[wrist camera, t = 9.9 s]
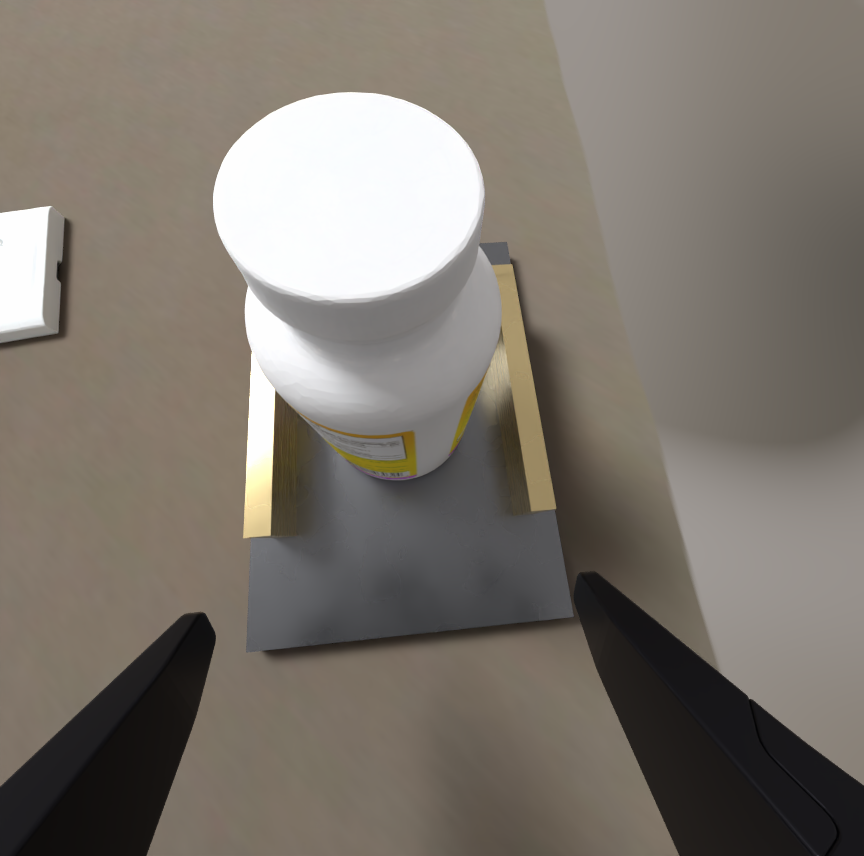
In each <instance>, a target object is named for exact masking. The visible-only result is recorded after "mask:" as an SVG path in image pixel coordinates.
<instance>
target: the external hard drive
mask: <svg viewBox="0 0 864 856" xmlns="http://www.w3.org/2000/svg"><path fill="white" fill-rule="evenodd" d="M64 219H65V218H64V217H63V216H62V215H61V214H60V213H59V212H58V211H57V210H56V209H55V208H53V207H52V206H48V207H41V208H34V209H29V210H21V211H13V212H6V213H0V343H4V342H10V341H16V340H22V339H27V338H33V337H39V336H45V335H51V334H57V333H58V332H59V311H60V292H61V282H59V281H58V274H59V272H58V271H59V270H58V266H59V264H60V263H61V262H62V255H63V237H64Z"/></svg>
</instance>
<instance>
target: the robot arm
mask: <svg viewBox="0 0 864 856" xmlns="http://www.w3.org/2000/svg"><path fill="white" fill-rule="evenodd" d="M574 603H575V606H576V609H577V612H578V615H579V618H580V621H581V624H582V627H583V630H584V633H585V636H586V639H587V642H588V645H589V648H590V651H591V654H592V657H593V660H594V663H595V666H596V669H597V671H598V673H599V676H600V678H601V680H602V683H603V685H604V687H605V689H606V692H607V694H608V696H609V698H610V701H611V703H612V705H613V707H614V710H615V712H616V714H617V716H618V719H619V721H620V723H621V725H622V728H623V730H624V732H625V734H626V737H627V739H628V741H629V743H630V746H631V748H632V750H633V752H634V755H635V757H636V759H637V761H638V764H639V766H640V768H641V770H642V773H643V775H644V777H645V779H646V782H647V784H648V786H649V788H650V791H651V793H652V795H653V797H654V800H655V802H656V804H657V806H658V809H659V811H660V813H661V815H662V818H663V820H664V822H665V824H666V827H667V829H668V831H669V833H670V836H671V838H672V840H673V842H674V845H675V847H676V849H677V851H678V854H679V856H864V785H862V784H861V783H860V782H858V781H857V780H856V779H854V778H853V777H851V776H850V775H849V774H847V773H846V772H844V771H843V770H842V769H841V768H839V767H838V766H836V765H835V764H834V763H832V762H831V761H830V760H829V759H827V758H826V757H825V756H823V755H822V754H821V753H819V752H818V751H817V750H815V749H814V748H812V747H811V746H810V745H808V744H807V743H806V742H805V741H803V740H802V739H801V738H800V737H798V736H797V735H796V734H794V733H793V732H792V731H791V730H789V729H788V728H787V727H786V726H784V725H783V724H782V723H781V722H779V721H778V720H777V719H775V718H774V717H773V716H772V715H771V714H769V713H768V712H767V711H765V710H764V709H763V708H762V707H761V706H760V705H758V704H757V703H756V702H755V701H754V700H752V699H749V698H748V696H747V695H746V694H745V693H743V692H742V691H741V690H740V689H739V688H737V687H736V686H735V685H734V684H733V683H731V682H730V681H729V680H728V679H726V678H725V677H724V676H723V675H722V674H720V673H719V672H718V671H717V670H716V669H714V668H713V667H712V666H711V665H709V664H708V663H707V662H706V661H705V660H703V659H702V658H701V657H700V656H698V655H697V654H696V653H695V652H694V651H692V650H691V649H690V648H689V647H687V646H686V645H685V644H684V643H683V642H681V641H680V640H679V639H678V638H676V637H675V636H674V635H673V634H672V633H670V632H669V631H668V630H667V629H665V628H664V627H663V626H662V625H661V624H659V623H658V622H657V621H656V620H654V619H653V618H652V617H651V616H650V615H648V614H647V613H646V612H645V611H644V610H642V609H641V608H640V607H639V606H637V605H636V604H635V603H634V602H633V601H631V600H630V599H629V598H628V597H626V596H625V595H624V594H623V593H622V592H620V591H619V590H618V589H617V588H615V587H614V586H613V585H612V584H611V583H609V582H608V581H607V580H606V579H604V578H603V577H602V576H601V575H600V574H598V573H597V572H594V571H590V572H581V573H579V574H578V576H577V580H576V585H575V590H574ZM215 641H216V635H215V631H214V629H213V627H212V625H211V623H210V622H209V620H208V618H207V616H206V614H205V613H203V612H195V613H187V614H184V615H183V616H181V617H180V618H179V619H178V620H177V621H176V622H175V623H174V624H173V625H171V626H170V627H169V628H168V629H167V630H166V631H165V632H164V633H163V634H162V635H161V636H160V637H159V638H158V639H157V640H156V641H154V642H153V643H152V644H151V645H150V646H149V647H148V648H147V649H146V650H145V651H144V652H143V653H142V654H141V655H140V656H139V657H137V658H136V659H135V660H134V661H133V662H132V663H131V664H130V665H129V666H128V667H127V668H126V669H125V670H124V671H123V672H122V673H120V674H119V675H118V676H117V677H116V678H115V679H114V680H113V681H112V682H111V683H110V684H109V685H108V686H107V687H106V688H105V689H103V690H102V691H101V692H100V693H99V694H98V695H97V696H96V697H95V698H94V699H93V700H92V701H91V702H90V703H89V704H88V705H86V706H85V707H84V708H83V709H82V710H81V711H80V712H79V713H78V714H77V715H76V716H75V717H74V718H73V719H72V720H71V721H69V722H68V723H67V724H66V725H65V726H64V727H63V728H62V729H61V730H60V731H59V732H58V733H57V734H56V735H55V736H54V737H52V738H51V739H50V740H49V741H48V742H47V743H46V744H45V745H44V746H43V747H42V748H41V749H40V750H39V751H38V752H37V753H35V754H34V755H33V756H32V757H31V758H30V759H29V760H28V761H27V762H26V763H25V764H24V765H23V766H22V767H21V768H20V769H18V770H17V771H16V772H15V773H14V774H13V775H12V776H11V777H10V778H9V779H8V780H7V781H6V782H5V783H4V784H3V785H1V786H0V856H146V855H147V853H148V850H149V847H150V844H151V842H152V839H153V836H154V833H155V830H156V828H157V825H158V822H159V819H160V816H161V814H162V811H163V808H164V805H165V802H166V800H167V797H168V794H169V791H170V789H171V786H172V783H173V780H174V777H175V775H176V772H177V769H178V766H179V763H180V761H181V758H182V755H183V752H184V749H185V747H186V744H187V741H188V738H189V736H190V733H191V730H192V727H193V724H194V721H195V718H196V715H197V711H198V708H199V704H200V701H201V697H202V693H203V689H204V685H205V681H206V677H207V673H208V670H209V666H210V662H211V658H212V654H213V650H214V646H215Z"/></svg>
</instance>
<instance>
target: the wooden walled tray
mask: <svg viewBox="0 0 864 856" xmlns="http://www.w3.org/2000/svg"><path fill="white" fill-rule="evenodd" d="M479 246H480V248H481V249H482V250H483V252H484V253H485V255H486V256H487V258H488V260H489V262H490V263H491V265H492V268H493V270H494V273H495V275H496V278H497V282H498V286H499V290H500V296H501V306H502V318H501V328H500V334H499V339H498V343H497V346H496V349H495V352H494V355H493V358H492V361H491V363H490V366H489V368H488V371H487V373H486V376H485V378H484V381H483V383H482V386H481V389H480V391H479V394H478V397H477V399H476V402H475V404H474V407H473V410H472V412H471V415H470V417H469V420H468V423H467V425H466V429H465V431H464V433H463V436H462V438H461V440H460V442H459V444H458V445H457V447H456V449H455V450H454V452H453V453H452V454H451V456H450V457H449V458H448V459H447V460H446V461H445V462H444V463H443V464H441V465H440V466H439V467H437V468H436V469H435V470H433V471H431V472H429V473H427V474H425V475H423V476H420V477H417V478H413V479H407V480H385V479H380V478H376V477H373V476H370V475H368V474H366V473H364V472H362V471H360V470H358V469H357V468H355V467H354V466H352V465H351V464H350V463H349V462H347V461H346V460H345V459H344V458H343V457H342V456H341V455H340V454H339V453H338V452H337V451H336V450H335V449H334V448H333V447H332V446H331V445H330V444H328V443H327V442H326V440H325V439H324V438H323V437H322V436H321V435H320V434H319V433H318V432H317V431H316V430H315V429H314V428H313V427H312V426H311V425H310V424H309V423H308V422H306V421H305V420H304V419H303V418H302V417H301V416H300V415H299V414H298V413H297V412H296V411H295V410H294V409H293V408H292V407H291V406H290V405H289V404H288V403H287V402H286V401H285V400H284V399H283V398H282V397H281V396H280V394H279V393H278V392H277V391H276V390H275V389H274V388H273V387H272V385H271V384H270V383H269V381H268V380H267V379H266V377H265V376H264V374H263V372H262V371H261V369H260V367H259V366H258V364H257V361H256V359H255V357H254V355H253V352H252V367H251V388H250V409H249V430H248V451H247V472H246V493H245V514H244V535H243V538H251V551H250V575H249V598H248V622H247V646H246V652H255V651H264V650H273V649H283V648H292V647H301V646H310V645H319V644H329V643H338V642H347V641H356V640H365V639H375V638H384V637H393V636H402V635H412V634H421V633H430V632H439V631H448V630H458V629H467V628H476V627H485V626H494V625H504V624H513V623H522V622H531V621H541V620H550V619H559V618H568V617H574V614H573V609H572V603H571V598H570V592H569V586H568V581H567V575H566V570H565V564H564V558H563V553H562V547H561V542H560V536H559V531H558V525H557V519H556V514H555V509H556V503H555V498H554V492H553V487H552V481H551V476H550V470H549V465H548V459H547V454H546V448H545V442H544V437H543V431H542V426H541V420H540V415H539V409H538V404H537V398H536V393H535V387H534V381H533V376H532V370H531V365H530V359H529V354H528V348H527V343H526V337H525V332H524V326H523V321H522V315H521V309H520V304H519V298H518V293H517V287H516V282H515V276H514V271H513V265H512V264H511V263H510V257H509V251H508V246H507V242H499V243H480V244H479Z"/></svg>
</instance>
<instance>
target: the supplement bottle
mask: <svg viewBox="0 0 864 856" xmlns="http://www.w3.org/2000/svg"><path fill="white" fill-rule="evenodd" d="M484 207H485V189H484V181H483V177H482V174H481V170H480V167H479V164H478V162H477V160H476V158H475V156H474V154H473V152H472V150H471V149H470V147H469V146H468V144H467V143H466V142H465V141H464V139H463V138H462V137H461V136H460V135H459V134H458V133H457V132H456V131H455V130H454V129H453V128H452V127H451V126H450V125H448V124H447V123H446V122H444V121H443V120H442V119H440V118H439V117H437V116H436V115H434V114H432V113H431V112H429V111H427V110H426V109H424V108H422V107H419V106H417V105H415V104H412V103H410V102H407V101H405V100H401V99H397V98H394V97H390V96H386V95H380V94H375V93H354V92H349V93H334V94H326V95H318V96H314V97H311V98H307V99H303V100H300V101H297V102H295V103H292V104H290V105H287V106H285V107H283V108H281V109H278V110H276V111H274V112H273V113H271V114H269V115H268V116H266V117H265V118H263V119H262V120H260V121H259V122H257V123H256V124H255V125H254V126H253V127H251V128H250V129H249V130H248V131H246V132H245V133H244V134H243V135H242V136H241V138H240V139H239V140H238V141H237V142H236V143H235V144H234V145H233V146H232V148H231V149H230V151H229V152H228V154H227V155H226V157H225V159H224V161H223V163H222V165H221V168H220V170H219V173H218V175H217V179H216V183H215V188H214V194H213V209H214V216H215V222H216V225H217V229H218V233H219V235H220V238H221V240H222V242H223V244H224V246H225V248H226V250H227V251H228V253H229V254H230V256H231V258H232V259H233V261H234V262H235V264H236V265H237V267H238V268H239V270H240V271H241V273H242V275H243V276H244V279H245V281H246V282H247V284H248V290H247V295H246V303H245V323H246V331H247V337H248V341H249V344H250V347H251V350H252V352H253V355H254V357H255V359H256V361H257V364H258V366H259V367H260V369H261V371H262V372H263V374H264V376H265V377H266V379H267V380H268V381H269V383H270V384H271V385H272V387H273V388H274V389H275V390H276V391H277V392H278V393H279V394H280V396H281V397H282V398H283V399H284V400H285V401H286V402H287V403H288V404H289V405H290V406H291V407H292V408H293V409H294V410H295V411H296V412H297V413H298V414H299V415H300V416H301V417H302V418H303V419H304V420H305V421H306V422H308V423H309V424H310V425H311V426H312V427H313V428H314V429H315V430H316V431H317V432H318V433H319V434H320V435H321V436H322V437H323V438H324V439H325V440H326V442H327V443H328V444H330V445H331V446H332V447H333V448H334V449H335V450H336V451H337V452H338V453H339V454H340V455H341V456H342V457H343V458H344V459H345V460H346V461H347V462H349V463H350V464H351V465H352V466H354V467H355V468H357V469H358V470H360V471H362V472H364V473H366V474H368V475H370V476H373V477H376V478H380V479H385V480H407V479H413V478H417V477H420V476H423V475H425V474H427V473H429V472H431V471H433V470H435V469H436V468H437V467H439V466H440V465H441V464H443V463H444V462H445V461H446V460H447V459H448V458H449V457H450V456H451V454H452V453H453V452H454V450H455V449H456V447H457V445H458V444H459V442H460V440H461V438H462V436H463V433H464V431H465V429H466V425H467V423H468V420H469V417H470V415H471V412H472V410H473V407H474V404H475V402H476V399H477V397H478V394H479V391H480V389H481V386H482V383H483V381H484V378H485V376H486V373H487V371H488V368H489V366H490V363H491V361H492V358H493V355H494V352H495V349H496V346H497V343H498V339H499V334H500V328H501V318H502V306H501V296H500V290H499V286H498V282H497V278H496V275H495V273H494V270H493V268H492V265H491V263H490V262H489V260H488V258H487V256H486V255H485V253H484V252H483V250H482V249H481V248H480V246H479V242H480V235H481V228H482V221H483V214H484Z"/></svg>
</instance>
